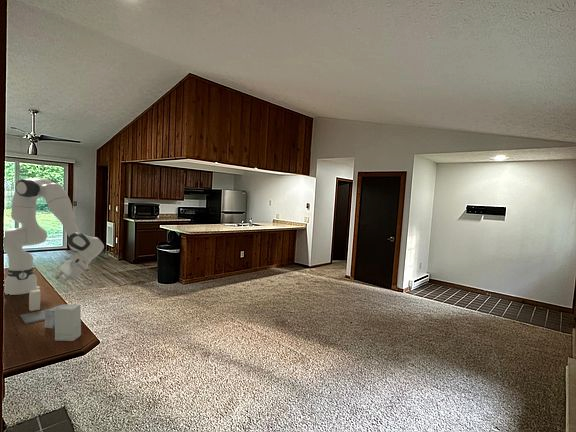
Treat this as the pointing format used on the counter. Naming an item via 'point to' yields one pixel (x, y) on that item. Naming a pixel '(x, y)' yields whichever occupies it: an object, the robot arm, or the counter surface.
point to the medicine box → (50, 318)
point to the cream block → (34, 299)
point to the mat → (33, 317)
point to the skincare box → (67, 322)
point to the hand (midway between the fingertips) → (58, 280)
